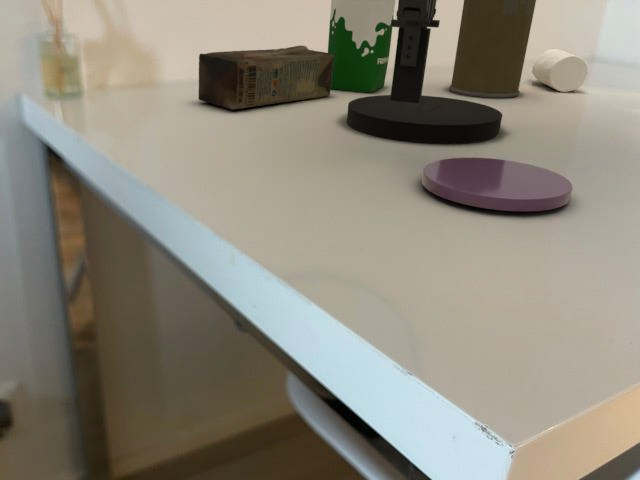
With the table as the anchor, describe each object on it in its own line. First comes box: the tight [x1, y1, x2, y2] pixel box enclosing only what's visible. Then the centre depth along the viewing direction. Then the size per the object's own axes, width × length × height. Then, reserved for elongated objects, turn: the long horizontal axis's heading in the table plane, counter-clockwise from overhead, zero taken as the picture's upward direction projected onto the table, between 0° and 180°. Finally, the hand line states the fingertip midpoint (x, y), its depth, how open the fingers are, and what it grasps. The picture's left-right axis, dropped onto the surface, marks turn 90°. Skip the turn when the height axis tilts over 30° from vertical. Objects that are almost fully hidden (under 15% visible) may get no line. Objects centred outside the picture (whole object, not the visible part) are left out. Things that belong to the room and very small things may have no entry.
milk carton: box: [327, 0, 396, 94], centre depth 98 cm, size 9×9×20 cm
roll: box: [531, 48, 589, 93], centre depth 108 cm, size 6×12×6 cm, turn 177°
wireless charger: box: [346, 94, 503, 145], centre depth 79 cm, size 18×18×2 cm
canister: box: [448, 0, 537, 99], centre depth 98 cm, size 11×10×20 cm
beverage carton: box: [198, 45, 334, 111], centre depth 90 cm, size 8×19×7 cm, turn 133°
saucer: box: [421, 157, 573, 212], centre depth 56 cm, size 12×12×1 cm
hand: (405, 100), depth 63 cm, fingers closed
